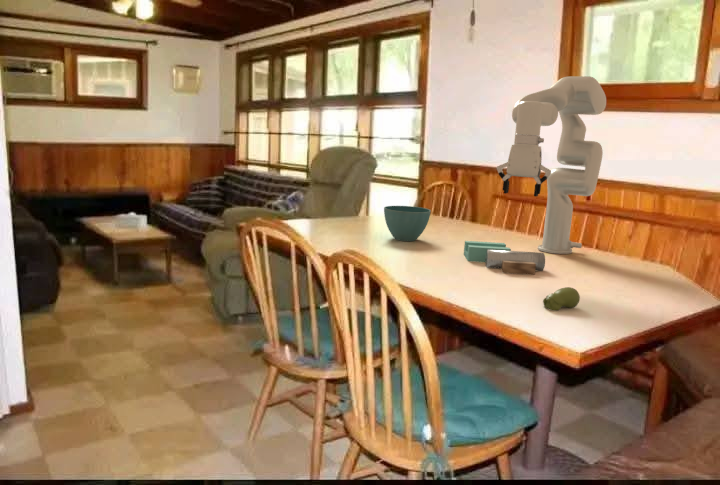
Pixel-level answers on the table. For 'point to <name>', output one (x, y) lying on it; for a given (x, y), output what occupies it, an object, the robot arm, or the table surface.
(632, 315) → the table surface
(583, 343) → the table surface
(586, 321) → the table surface
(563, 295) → the pear
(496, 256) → the steel axle
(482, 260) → the teal V-block
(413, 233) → the teal bowl
